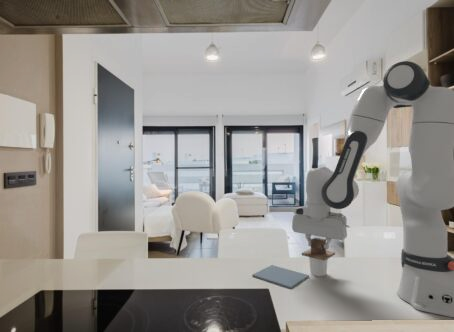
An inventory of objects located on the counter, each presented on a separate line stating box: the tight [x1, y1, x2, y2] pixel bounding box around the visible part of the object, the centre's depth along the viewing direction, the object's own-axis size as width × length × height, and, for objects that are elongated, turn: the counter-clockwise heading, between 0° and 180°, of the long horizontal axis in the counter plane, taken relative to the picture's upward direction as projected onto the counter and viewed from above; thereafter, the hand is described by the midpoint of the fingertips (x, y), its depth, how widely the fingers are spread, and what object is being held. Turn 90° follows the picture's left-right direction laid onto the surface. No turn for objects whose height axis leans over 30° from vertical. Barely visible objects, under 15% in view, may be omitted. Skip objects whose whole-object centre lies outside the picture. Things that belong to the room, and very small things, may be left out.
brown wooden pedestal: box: [301, 237, 336, 261], centre depth 109 cm, size 9×9×6 cm
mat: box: [252, 264, 310, 289], centre depth 106 cm, size 16×13×1 cm
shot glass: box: [308, 257, 329, 277], centre depth 109 cm, size 7×7×7 cm
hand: (318, 247), depth 109 cm, fingers open, 4 cm apart
